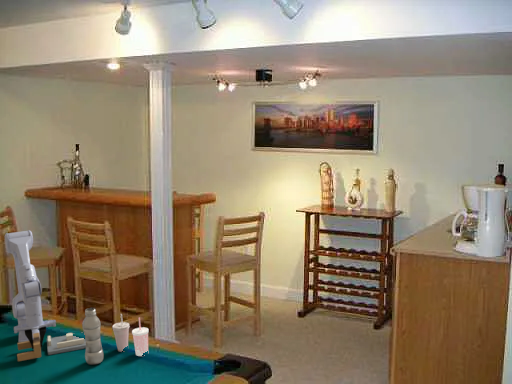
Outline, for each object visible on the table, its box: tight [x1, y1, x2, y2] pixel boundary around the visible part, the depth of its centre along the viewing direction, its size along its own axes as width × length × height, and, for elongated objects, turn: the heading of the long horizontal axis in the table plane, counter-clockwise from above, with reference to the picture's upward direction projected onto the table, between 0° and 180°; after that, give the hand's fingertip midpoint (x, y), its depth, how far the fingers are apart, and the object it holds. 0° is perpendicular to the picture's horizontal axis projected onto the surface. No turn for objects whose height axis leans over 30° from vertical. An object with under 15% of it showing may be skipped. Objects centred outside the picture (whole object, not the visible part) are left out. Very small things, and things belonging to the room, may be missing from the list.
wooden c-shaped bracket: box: [16, 333, 42, 362], centre depth 214 cm, size 8×12×5 cm, turn 22°
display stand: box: [46, 332, 86, 356], centre depth 224 cm, size 14×17×3 cm
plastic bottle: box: [81, 307, 104, 366], centre depth 205 cm, size 6×7×20 cm
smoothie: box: [112, 313, 131, 353], centre depth 216 cm, size 6×6×14 cm
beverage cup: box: [131, 316, 149, 357], centre depth 212 cm, size 6×6×14 cm
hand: (37, 347), depth 215 cm, fingers closed on wooden c-shaped bracket, 2 cm apart
